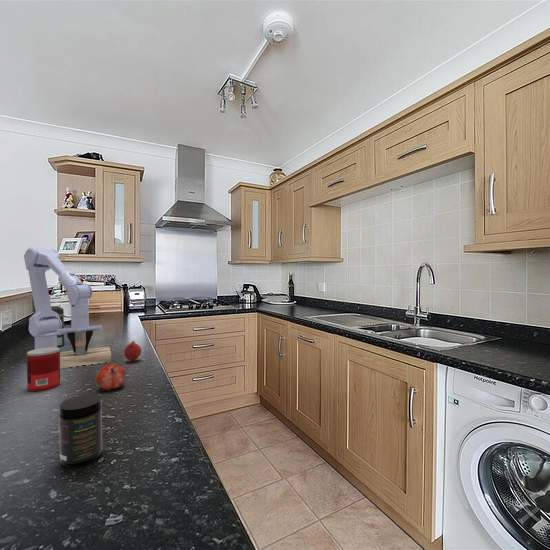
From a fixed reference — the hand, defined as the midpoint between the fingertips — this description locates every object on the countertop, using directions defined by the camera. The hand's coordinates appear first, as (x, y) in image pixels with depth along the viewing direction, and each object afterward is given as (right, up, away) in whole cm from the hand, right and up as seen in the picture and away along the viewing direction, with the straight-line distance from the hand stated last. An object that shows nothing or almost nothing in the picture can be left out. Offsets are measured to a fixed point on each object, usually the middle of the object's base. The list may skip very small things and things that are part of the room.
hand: (80, 351), depth 119 cm
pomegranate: (+26, -4, -27) cm, 38 cm away
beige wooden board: (0, -4, 0) cm, 4 cm away
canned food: (+5, -4, -26) cm, 27 cm away
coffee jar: (-29, -4, +26) cm, 39 cm away
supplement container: (+39, -5, -62) cm, 73 cm away
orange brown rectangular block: (0, -4, 0) cm, 4 cm away
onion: (+20, -4, 0) cm, 21 cm away
